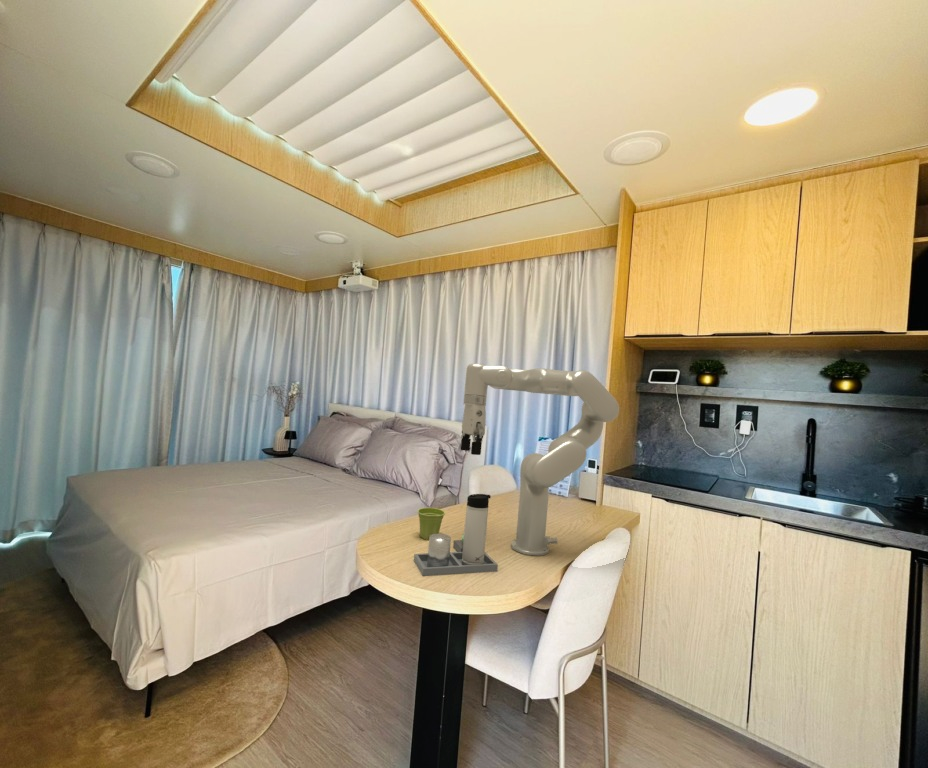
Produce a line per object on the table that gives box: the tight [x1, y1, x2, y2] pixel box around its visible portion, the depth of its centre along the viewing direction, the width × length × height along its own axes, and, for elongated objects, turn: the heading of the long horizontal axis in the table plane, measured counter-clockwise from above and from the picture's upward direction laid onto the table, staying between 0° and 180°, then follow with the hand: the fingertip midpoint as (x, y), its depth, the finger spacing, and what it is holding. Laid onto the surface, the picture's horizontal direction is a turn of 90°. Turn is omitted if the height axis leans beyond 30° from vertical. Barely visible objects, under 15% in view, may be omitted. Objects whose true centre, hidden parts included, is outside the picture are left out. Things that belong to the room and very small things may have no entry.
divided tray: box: [413, 551, 499, 577], centre depth 112 cm, size 21×10×3 cm, turn 110°
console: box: [452, 539, 463, 552], centre depth 124 cm, size 7×7×3 cm
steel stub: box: [427, 533, 452, 567], centre depth 110 cm, size 6×6×8 cm
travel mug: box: [462, 493, 492, 565], centre depth 114 cm, size 6×7×20 cm
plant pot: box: [417, 507, 446, 541], centre depth 136 cm, size 9×9×9 cm
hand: (470, 452), depth 133 cm, fingers open, 9 cm apart
